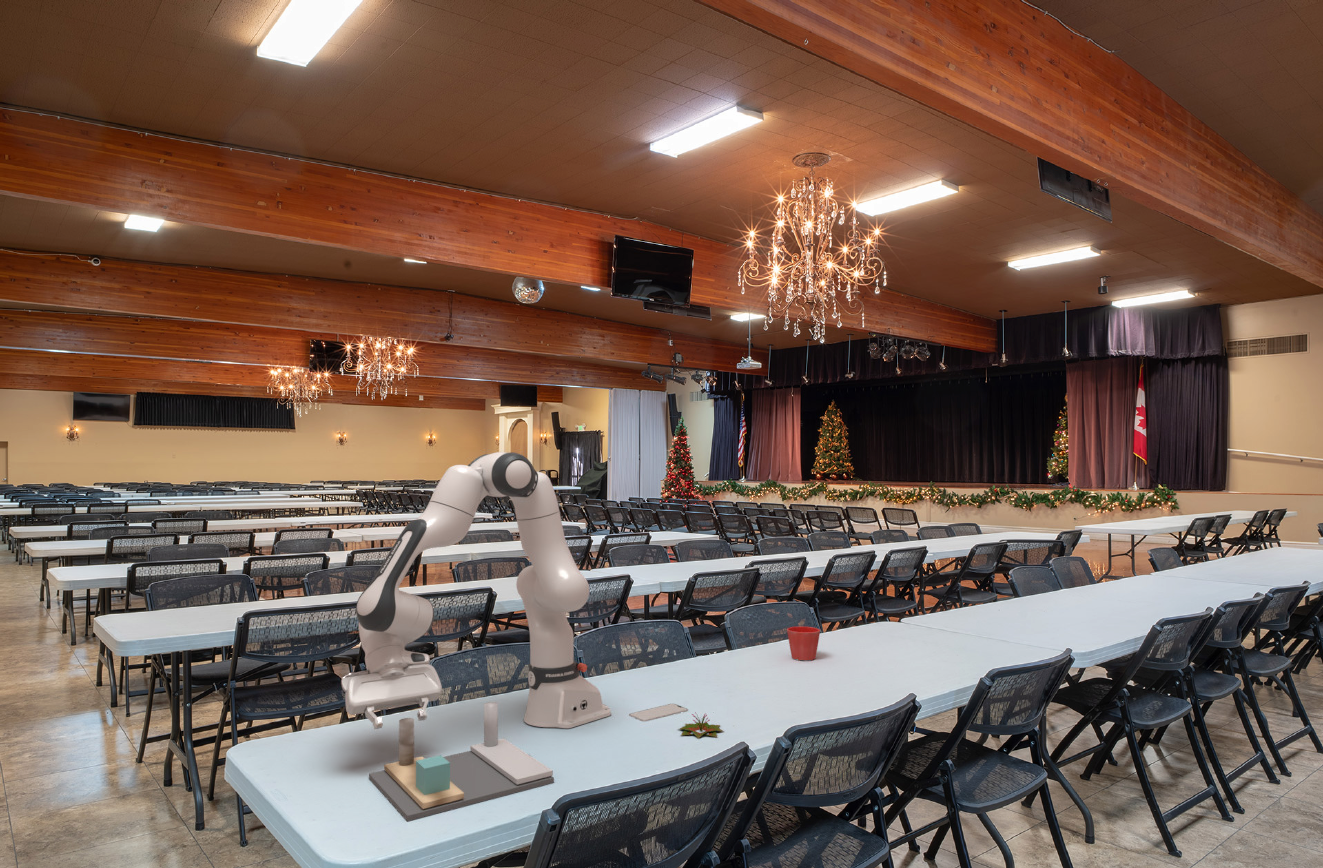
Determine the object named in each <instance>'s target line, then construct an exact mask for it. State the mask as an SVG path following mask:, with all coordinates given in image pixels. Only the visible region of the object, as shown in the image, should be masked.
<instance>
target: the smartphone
mask: <svg viewBox="0 0 1323 868" xmlns="http://www.w3.org/2000/svg"><path fill="white" fill-rule="evenodd" d="M681 712H683V713H686V712H689V709H688V708H686V707H683V706H681V705H678V704H676V703H669V704H668V703H667V704H664V705H660V706H655V707H651V708H648V709H643V710H640V711H635V712H631V713H628V716H629V717H631V718H634V719H635V720H638V721H640V722H649V721H654V720H658V719H662V718H665V717H669V716H670V717H671V716H675V715H678V714H682V713H681ZM674 714H675V715H674Z"/></svg>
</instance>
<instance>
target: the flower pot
mask: <svg viewBox="0 0 1323 868" xmlns="http://www.w3.org/2000/svg"><path fill="white" fill-rule="evenodd" d="M786 632H787V638H788V645H789V650H790V654H791V658H792V660H795V659H798V660H797V661H800V660H805V661H804V662H807V661H806V660H811V661H814V660H815V659H816V658H817V657H816V656H817V652H818V647H819V641H820V634H821V630H820V629H819V628H817V627H813V626H812V627H811V626H791V627H788V628H787V629H786ZM813 659H814V660H813Z"/></svg>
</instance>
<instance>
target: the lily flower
mask: <svg viewBox="0 0 1323 868" xmlns="http://www.w3.org/2000/svg"><path fill="white" fill-rule="evenodd" d="M694 714H696V715H694ZM694 714H693V713H691V715H692V716H693V718H695V719H692V721H693V722H694V723H684V726H681V727H680V728H678V729H677V731H678V730H684V731H682V732H681V736H690V735H692V736H693V735H695V736H696V738H697V739H699V738H700V737H702V736H708V737H715V738H718V735H717V734H718V733H717V732H716V731H718V732H723V733H724V732H725V730H723V729H721V728H720V726H721V724H709V721H710V719H708V718H709V717H707V716H708V714H707V713H704V714H703V717H702V718H701V719H700V716H699V717H698V714H697V713H696V712H694ZM698 731H699V732H698ZM707 733H708V734H707Z"/></svg>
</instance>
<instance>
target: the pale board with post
mask: <svg viewBox="0 0 1323 868" xmlns="http://www.w3.org/2000/svg"><path fill="white" fill-rule="evenodd" d="M483 708H484V709H483V718H484V719H483V742H482V743H481V742H480V743H476V744H472V745H470V751H472V752H473V753H475V754H476V755H478V756H479V757H480V758H482V759H483V760H484V761H486V762H487V763H488V764H490V765H491V766H492V767H494V768H495V769H496V770H498V771H499V772H500V773H502V774H503V775H504V776H506V777H507V778H509V779H510V780H511V781H513V782H514V783H515V784H517V785H518V784H522V783H526V782H529V781H533V780H537V779H541V778H545V777H549V776H552V777H553V776H554V774H553V773H554V772H553V771H554V770H553V769H551V768H550V767H548V766H546V765H545V764H543V763H542V762H540V761H539V760H537V759H536V758H535V757H533V756H531V755H530V754H529V753H526V752H525V751H524V750H522V749H521V748H519V747H517V746H516V745H514V744H513V743H511V742H510V741H509V740H507V739H505V738H500V739H498V737H499V735H498V734H499V731H498V730H499V729H498V726H499V723H498V722H499V721H498V719H499V717H498V716H499V714H498V713H499V712H498V710H499V705H498V702H496V701H489V702H485V703H484V704H483Z"/></svg>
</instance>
